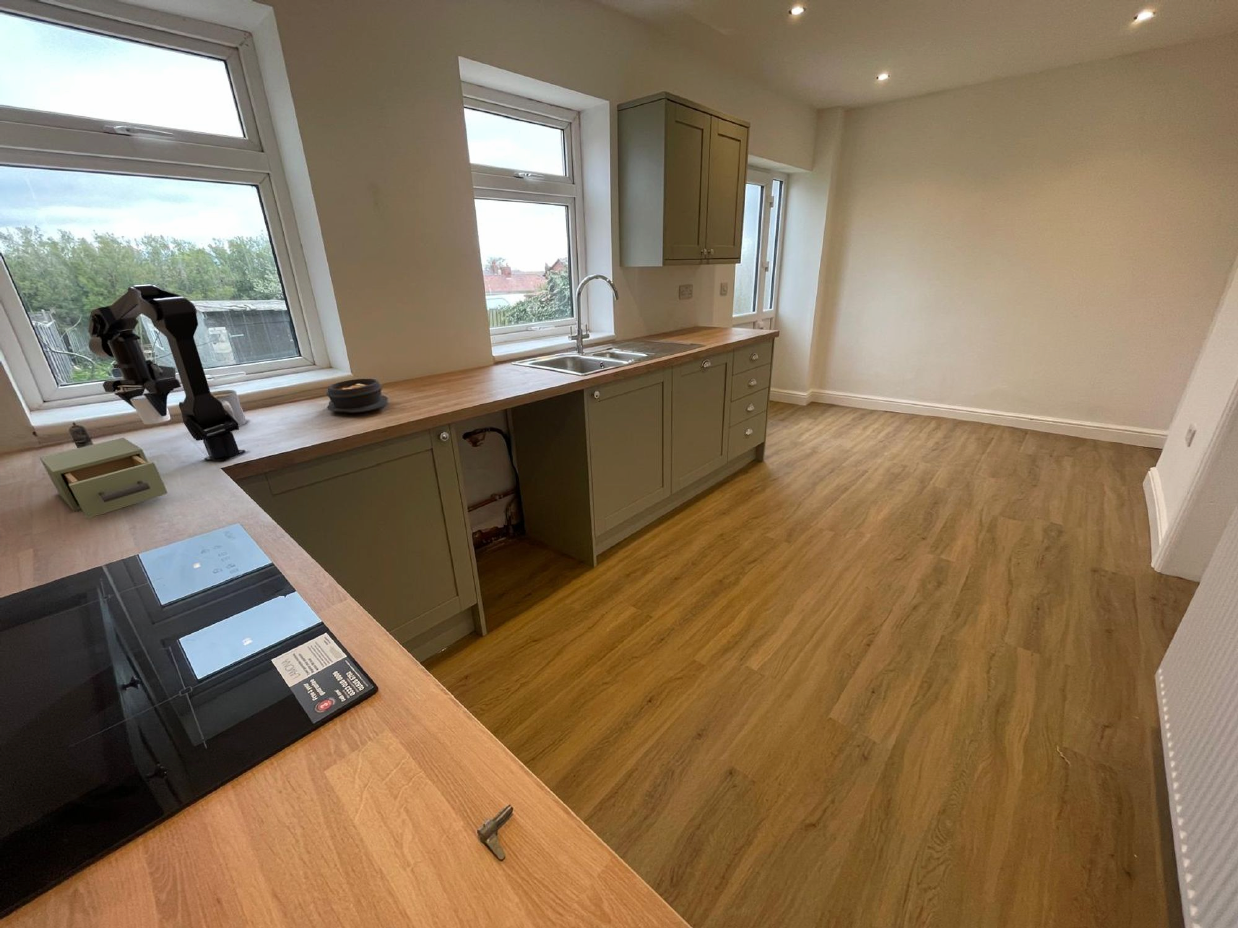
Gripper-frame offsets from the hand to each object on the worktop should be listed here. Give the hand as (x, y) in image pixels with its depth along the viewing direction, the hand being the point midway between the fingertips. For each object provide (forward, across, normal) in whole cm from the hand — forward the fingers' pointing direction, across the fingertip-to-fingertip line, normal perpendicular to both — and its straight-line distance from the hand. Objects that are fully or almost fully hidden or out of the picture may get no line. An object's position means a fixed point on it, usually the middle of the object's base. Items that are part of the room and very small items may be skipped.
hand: (155, 415), depth 136 cm
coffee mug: (+10, 0, -18) cm, 21 cm away
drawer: (+9, -27, +30) cm, 41 cm away
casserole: (+10, -31, -39) cm, 51 cm away
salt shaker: (+10, +6, +14) cm, 18 cm away
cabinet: (+10, -15, +25) cm, 30 cm away
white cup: (+2, 0, 0) cm, 2 cm away
